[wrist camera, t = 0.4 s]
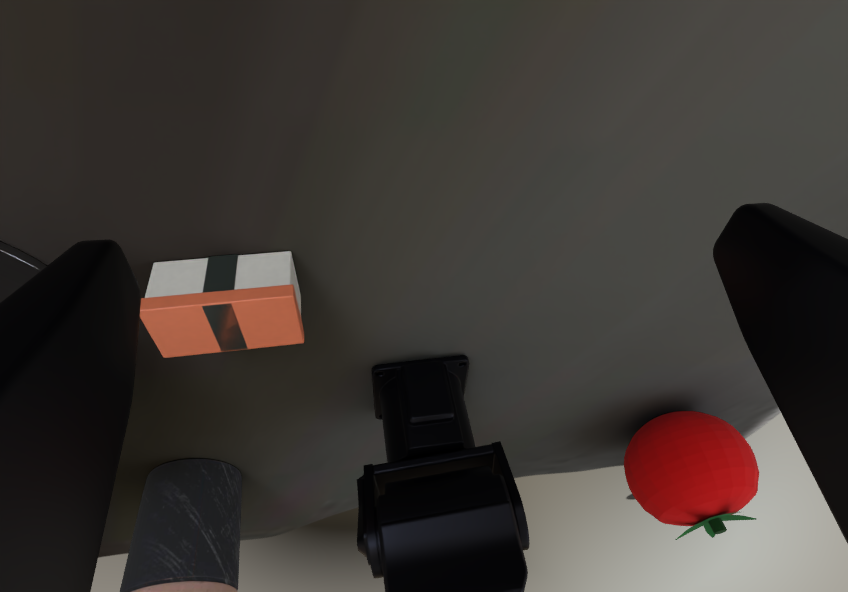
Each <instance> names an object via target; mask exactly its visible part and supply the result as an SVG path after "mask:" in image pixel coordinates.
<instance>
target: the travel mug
mask: <svg viewBox="0 0 848 592" xmlns="http://www.w3.org/2000/svg"><path fill="white" fill-rule="evenodd" d="M241 498H242V476H241V473H240V471H239V470H238V469H237V468H236V467H234V466H232V465H230V464H228V463H225V462H221V461H217V460H210V459H184V460H177V461H172V462H168V463H165V464H163V465H160V466H158V467H156V468H155V469H153V470H152V471H151V472H150V473H149V475H148V477H147V480H146V483H145V487H144V491H143V495H142V499H141V503H140V507H139V512H138V516H137V520H136V524H135V529H134V533H133V537H132V542H131V546H130V550H129V554H128V559H127V563H126V567H125V572H124V576H123V580H122V584H121V588H120V592H237V590H238V573H239V548H240V523H241Z"/></svg>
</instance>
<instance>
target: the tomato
mask: <svg viewBox="0 0 848 592" xmlns="http://www.w3.org/2000/svg"><path fill="white" fill-rule="evenodd" d="M624 468H625V475H626V479H627V482H628V486H629V488H630V490H631V492H632V494H633V496H634V497H635V498H636V500H637V501H638V502H639V504H640V505H641V506H642V507H643V509H644V510H645V511H647V512H648V513H650V514H651V515H653V516H654V517H655V518H656V519H658V520H659V521H660V522H662V523H665V524H672V525H680V526H693V527H691V528H689V529H688V530H686V531H685V532H684V533H683V534H682V535H681V536H679V537H678V538H680V537H682V536H684V535H686V534H687V533H689V532H691V531H693V530H695V529H697V528H699V527H701V526H703V525H704V528H705V530H706V532H707V533H708V534H709V535H710V536H711V537H714V536H715V534H720V533H723V532H725V531H726V530H727V529H726V527H725V526H724V524H723V522H722V521H728V520H750V519H751V520H753V519H755V518H751V517H746V516H740V515H732V514H734V513H736V512H738V511H739V510H740V509H742V508H743V507H744V506H745V505H746V504H748V503H749V501H750V500H751V499H752V498H753V497H754V496H755V495H756V493H757V490H758V477H759V470H758V466H757V462H756V459H755V455H754V453H753V451H752V449H751V447H750V446H749V444H748V443H747V441H746V440H745V439H744V438H743V436H742V435H741V434H740V433H739V432H738V431H737V430H736V429H735V428H734V427H733V426H731V425H730V424H728V423H727V422H726V421H724V420H722V419H720V418H718V417H715V416H712V415H709V414H705V413H701V412H696V411H676V412H670V413H667V414H663V415H660V416H658V417H656V418H654V419H652V420H650V421H649V422H647V423H646V424H645V425H643V426H642V427H641V428H640V429H639V430H638V431H637V432H636V433H635V435H634V436H633V437H632V439H631V441H630V443H629V445H628V447H627V450H626V453H625V457H624ZM678 538H677V539H678ZM677 539H676V540H677Z"/></svg>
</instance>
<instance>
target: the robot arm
mask: <svg viewBox="0 0 848 592" xmlns="http://www.w3.org/2000/svg"><path fill="white" fill-rule="evenodd" d="M713 257H714V261H715V264H716V266H717V269H718V272H719V274H720V277H721V280H722V282H723V285H724V287H725V290H726V293H727V295H728V298H729V301H730V303H731V306H732V309H733V311H734V314H735V316H736V319H737V322H738V324H739V327H740V329H741V332H742V334H743V337H744V339H745V341H746V343H747V345H748V348H749V350H750V352H751V354H752V356H753V358H754V360H755V362H756V364H757V366H758V368H759V370H760V372H761V374H762V376H763V378H764V379H765V381H766V383H767V385H768V387H769V389H770V391H771V393H772V395H773V397H774V399H775V401H776V403H777V405H778V407H779V409H780V411H781V413H782V415H783V417H784V419H785V421H786V423H787V425H788V427H789V429H790V431H791V433H792V435H793V437H794V438H795V441H796V443H797V445H798V447H799V449H800V451H801V453H802V455H803V456H804V458H805V460H806V462H807V464H808V466H809V468H810V470H811V472H812V474H813V476H814V478H815V480H816V482H817V484H818V486H819V488H820V490H821V492H822V494H823V496H824V498H825V500H826V502H827V504H828V506H829V508H830V510H831V512H832V514H833V516H834V518H835V520H836V522H837V524H838V526H839V528H840V530H841V532H842V533H843V535H844V537H845V539H846V541H847V543H848V239H846V238H844V237H842V236H840V235H838V234H835V233H833V232H831V231H829V230H827V229H825V228H822V227H820V226H818V225H816V224H814V223H812V222H809V221H807V220H805V219H803V218H801V217H799V216H796V215H794V214H792V213H790V212H788V211H786V210H783V209H781V208H779V207H777V206H775V205H772V204H768V203H758V204H745V205H742V206H740V207H739V208H738V209H737V210H736V211H735V212H734V213H733V215H732V217H731V218H730V220H729V222H728V223H727V225H726V226H725V228H724V230H723V231H722V233H721V234H720V236H719V238H718V239H717V241H716V243H715V245H714V249H713ZM140 306H141V292H140V287H139V284H138V282H137V280H136V278H135V276H134V274H133V272H132V269H131V267H130V265H129V263H128V261H127V259H126V257H125V255H124V253H123V251H122V249H121V248H120V246H119V245H118V244H117V243H116V242H115V241H112V240H92V241H82V242H78V243H76V244H75V245H73V246H72V247H71V248H70V249H68V250H67V251H66V252H64V253H63V254H62V255H61V256H59V257H58V258H57V259H56V260H54V261H53V262H52V263H50V264H49V265H48V266H47V267H45V268H44V269H43V270H41V271H40V272H39V273H38V274H36V275H35V276H34V277H33V278H31V279H30V280H29V281H27V282H26V283H25V284H24V285H22V286H21V287H20V288H18V289H17V290H16V291H15V292H13V293H12V294H11V295H10V296H8V297H7V298H6V299H4V300H3V301H2V302H1V303H0V592H90V590H91V586H92V582H93V577H94V573H95V568H96V563H97V559H98V554H99V550H100V545H101V541H102V536H103V532H104V527H105V523H106V518H107V514H108V509H109V504H110V500H111V495H112V491H113V486H114V482H115V477H116V473H117V468H118V464H119V459H120V454H121V450H122V445H123V441H124V436H125V432H126V427H127V423H128V418H129V413H130V408H131V402H132V396H133V387H134V377H135V365H136V353H137V342H138V330H139V318H140ZM468 368H469V360H468V357H467V356H465V355H460V356H451V357H442V358H434V359H425V360H416V361H407V362H399V363H390V364H381V365H376V366H374V367H373V368H372V380H373V393H374V405H375V416H376V418H377V419H382V420H383V428H384V437H385V445H386V454H387V462H388V463H383V464H378V465H373V464H369V465H364V475H363V476H362V477H360V478H359V479H357V486H358V501H359V513H358V533H357V546H358V551H359V552H361V553H362V554H363V555H365V556H366V557H367V560H368V564H369V565H371V569H372V573H373V576H374V578H380V577H384V584H385V592H524V588H525V584H526V580H527V574H528V572H527V566H526V561H525V557H524V553H523V550H527V549H528V548H529V534H528V527H527V521H526V516H525V512H524V508H523V504H522V501H521V498H520V494H519V492H518V489H517V486H516V483H515V480H514V478H513V475H512V472H511V469H510V467H509V464H508V461H507V458H506V456H505V453H504V450H503V447H502V445H501V442H494V443H492V444H491V445H485V446H480V447H475V443H474V439H473V435H472V431H471V426H470V422H469V418H468V414H467V410H466V406H465V401H464V393H465V387H466V381H467V374H468Z"/></svg>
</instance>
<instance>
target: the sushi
mask: <svg viewBox="0 0 848 592" xmlns="http://www.w3.org/2000/svg"><path fill="white" fill-rule="evenodd" d="M140 318H141V320H142V322H143V323H144V325H145V327H146V328H147V330H148V332H149V333H150V335H151V337H152V339H153V340H154V342H155V344H156V345H157V347H158V349H159V351H160V352H161V354H162V356H163V357H164V358H169V357H179V356H188V355H197V354H207V353H216V352H226V351H235V350H244V349H254V348H263V347H272V346H282V345H291V344H300V343H304V329H303V324H302V320H301V295H300V290H299V285H298V281H297V276H296V272H295V267H294V262H293V258H292V253H291V251H285V252H273V253H261V254H249V255H237V254H234V255H222V256H210V257H208V258H202V259H190V260H178V261H166V262H155V263H154V264H153V268H152V272H151V275H150V279H149V283H148V287H147V291H146V294H145V298H141V306H140Z"/></svg>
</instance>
